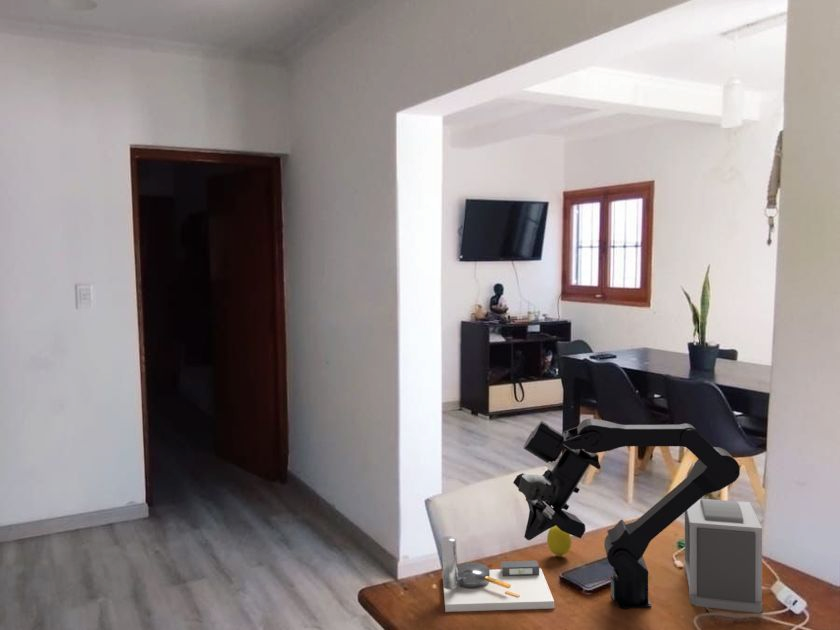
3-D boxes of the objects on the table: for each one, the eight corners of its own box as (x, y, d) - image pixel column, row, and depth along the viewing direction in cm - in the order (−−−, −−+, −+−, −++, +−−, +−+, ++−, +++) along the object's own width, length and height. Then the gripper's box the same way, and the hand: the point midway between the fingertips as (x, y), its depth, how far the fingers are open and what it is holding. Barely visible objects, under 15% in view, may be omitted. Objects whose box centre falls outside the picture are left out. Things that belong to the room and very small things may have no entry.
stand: (541, 574, 152) (540, 559, 151) (554, 608, 137) (554, 591, 136) (442, 577, 152) (442, 562, 151) (445, 611, 137) (444, 594, 136)
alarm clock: (684, 566, 154) (684, 487, 152) (748, 572, 150) (748, 491, 148) (690, 605, 136) (690, 516, 135) (763, 613, 132) (763, 522, 131)
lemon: (565, 563, 157) (564, 530, 156) (543, 558, 160) (542, 525, 159) (575, 555, 161) (574, 522, 160) (554, 549, 164) (553, 517, 164)
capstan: (520, 585, 143) (519, 534, 142) (485, 609, 134) (483, 554, 133) (467, 567, 152) (466, 519, 151) (431, 588, 143) (429, 536, 142)
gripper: (515, 441, 143) (477, 503, 144) (566, 486, 127) (523, 556, 127) (550, 458, 148) (513, 518, 149) (604, 503, 132) (562, 570, 133)
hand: (526, 538), depth 140 cm, fingers closed
